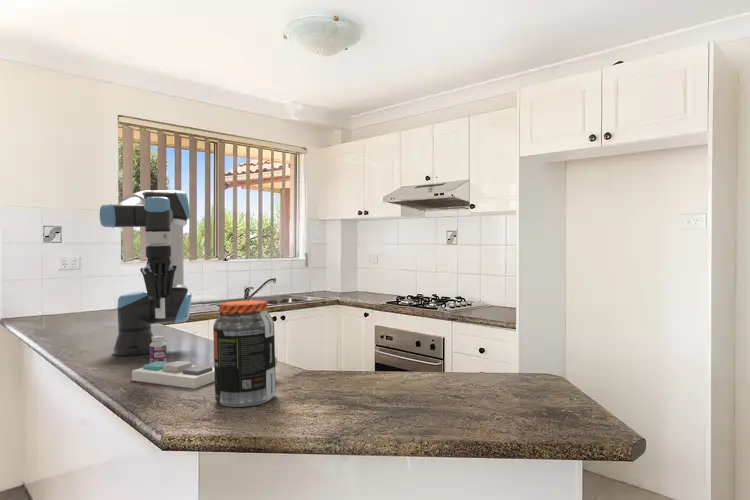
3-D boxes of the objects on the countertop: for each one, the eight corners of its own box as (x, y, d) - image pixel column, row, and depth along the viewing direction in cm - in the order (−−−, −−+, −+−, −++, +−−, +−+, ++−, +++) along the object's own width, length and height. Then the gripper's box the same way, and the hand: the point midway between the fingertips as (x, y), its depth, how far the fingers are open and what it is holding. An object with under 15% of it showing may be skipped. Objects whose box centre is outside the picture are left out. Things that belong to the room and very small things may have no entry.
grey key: (177, 370, 162) (177, 360, 162) (192, 371, 159) (192, 362, 159) (162, 374, 156) (162, 365, 156) (177, 376, 154) (177, 366, 154)
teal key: (158, 370, 165) (158, 361, 165) (172, 372, 162) (172, 362, 162) (143, 375, 159) (143, 365, 159) (157, 376, 157) (157, 367, 157)
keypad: (162, 371, 168) (162, 362, 168) (223, 378, 158) (222, 368, 158) (132, 380, 157) (131, 370, 157) (194, 388, 147) (194, 378, 147)
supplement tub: (288, 395, 139) (286, 300, 138) (246, 412, 125) (243, 307, 125) (245, 388, 147) (243, 297, 146) (201, 403, 133) (199, 304, 133)
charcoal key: (197, 374, 158) (197, 365, 158) (212, 376, 156) (212, 366, 156) (182, 379, 153) (182, 369, 153) (198, 381, 150) (197, 371, 150)
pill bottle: (155, 366, 175) (154, 338, 175) (147, 364, 178) (146, 336, 178) (169, 363, 179) (169, 336, 179) (161, 361, 182) (160, 334, 182)
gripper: (150, 246, 158) (152, 322, 159) (182, 244, 169) (184, 315, 170) (133, 245, 161) (135, 320, 162) (165, 244, 173) (167, 314, 174)
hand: (160, 317), depth 166 cm, fingers closed
